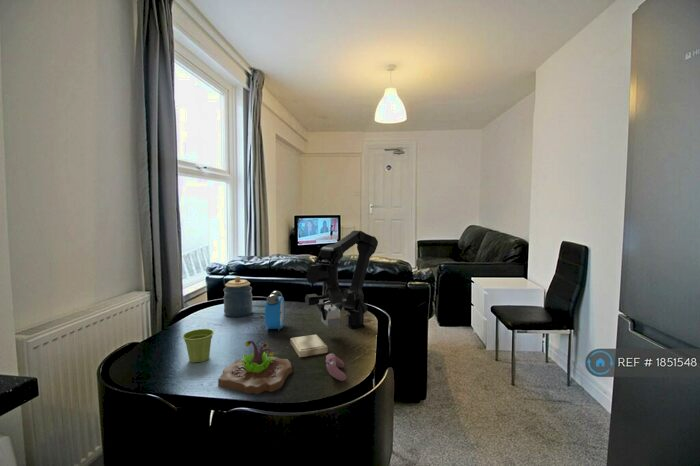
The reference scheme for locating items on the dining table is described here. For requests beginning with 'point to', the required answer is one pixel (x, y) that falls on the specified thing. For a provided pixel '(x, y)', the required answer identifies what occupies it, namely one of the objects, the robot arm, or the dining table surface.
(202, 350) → the plant pot
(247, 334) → the dining table surface
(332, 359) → the video game controller
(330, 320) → the box
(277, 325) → the alarm clock
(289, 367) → the plant
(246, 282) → the canister
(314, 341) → the beige tray
